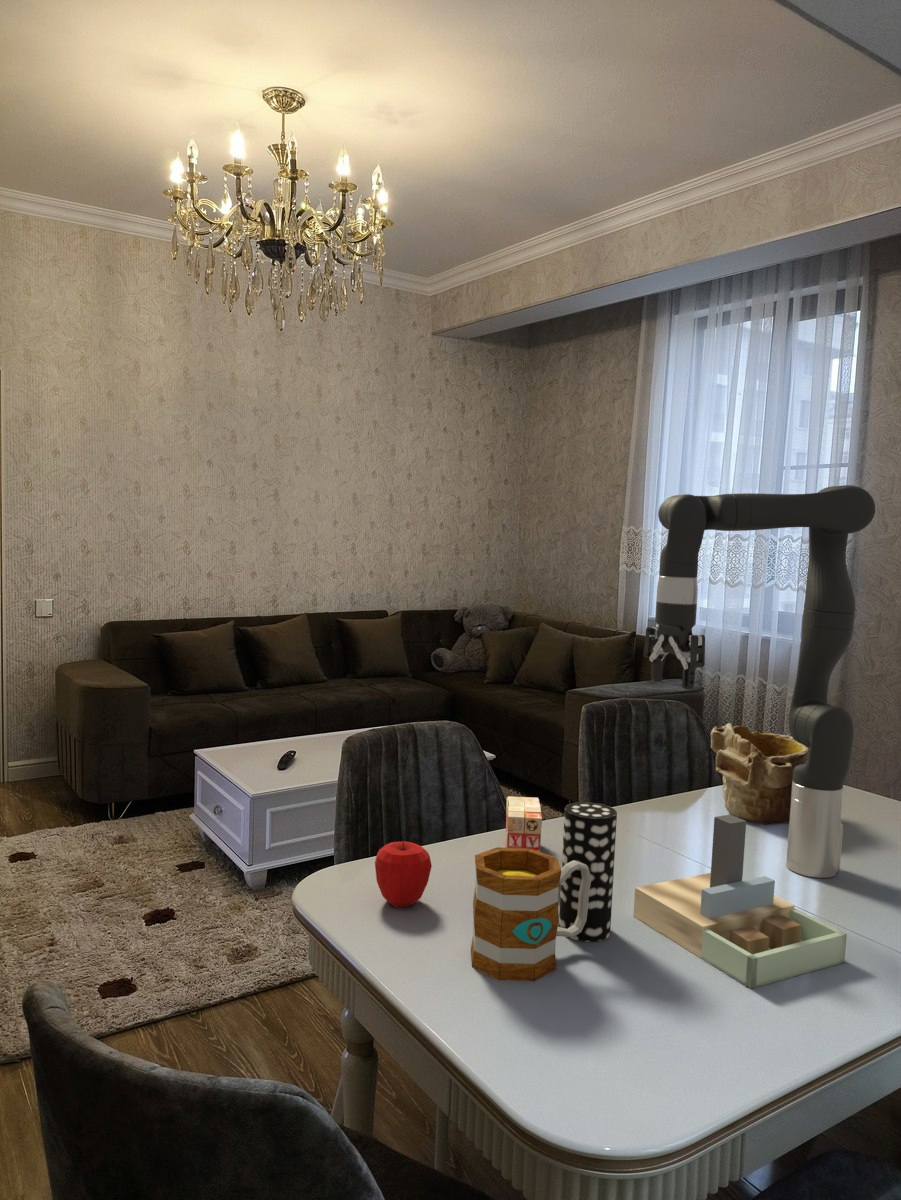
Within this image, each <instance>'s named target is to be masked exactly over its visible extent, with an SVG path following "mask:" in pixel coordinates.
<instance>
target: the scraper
mask: <svg viewBox="0 0 901 1200" xmlns="http://www.w3.org/2000/svg"><path fill="white" fill-rule="evenodd" d="M746 831H747V820H746V819H743V818H740V817H736V816H733V815H731V814H726V815H719V816H714V819H713V834H712V835H713V836H712V851H711V862H710V863H711V864H710V865H711V866H710V873H711V877H710V888H706V889H702V894H701V910H700V914H701V915H703V916H705V917H707V918H709V919H711V918H716V917H720V916H724V915H729V914H733V913H737V912H742V911H746V910H751V909H755V908H759V907H764V906H768V905H772V904H773V900H774V896H775V884H776V881H775V879H772V878H770V877H768V876H760V877H754V878H750V879H746V880H744V881H742V880H743V876H744V875H743V874H744V862H745V861H744V860H745V848H746V847H745V844H746V834H747V833H746Z"/></svg>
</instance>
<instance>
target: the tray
mask: <svg viewBox="0 0 901 1200" xmlns="http://www.w3.org/2000/svg"><path fill="white" fill-rule="evenodd" d="M789 919H790V920H792V921H794V922H796V923H798V924H800V925H801V934H800V942H798V943H795V944H791V945H787V946H783V947H779V948H776V949H771V948H769V947H768V951H764V952H760V953H756V954H753V955H752V954H751V953H749V952H747V951H745V950H744V949H742V948H740V947H739V946H737V945H735V944H733V943H732V942H730V941H728V940H726V939H725V938H723V937H721V936H719V935H718V934H716V933H714V932H712V931H711V930H709V929H704V930H703V934H702V950H701V958H700V959H702V960H703V961H704V962H706V963H708V964H710V965H712V966H713V967H714V968H716V969H718V970H720V971H721V972H722V973H723V974H726V975H727V976H729V977H731V978H732V979H734V980H735V981H737V982H739V983H740V984H742V985H743V986H744V987H747V988H748V989H750V990H752V989H756V988H759V987H762V986H766V985H770V984H772V983H776V982H781V981H784V980H788V979H790V978H794V977H797V976H801V975H804V974H807V973H811V972H814V971H819V970H823V969H826V968H829V967H833V966H835V965H839V964H843V963H845V961H846V949H847V937H848V936H847V933H845V932H844V931H841V930H839V929H837V928H835V927H833V926H831V925H829V924H827V923H825V922H823V921H822V920H820V919H817V918H815V917H813V916H811V915H809V914H807V913H806V912H802V911H801V910H799V909H798V908H797V909H796V908H795V907H794V908H793V909H790V917H789Z"/></svg>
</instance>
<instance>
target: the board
mask: <svg viewBox="0 0 901 1200" xmlns="http://www.w3.org/2000/svg"><path fill="white" fill-rule="evenodd" d="M710 877H711V872H707V873H703V874H702V873H701V874H697V875H692V876H688V877H682V878H677V879H671V880H667V881H662V882H657V883H652V884H647V885H642V886H636V887H635V888H634V900H633V901H634V903H633V904H634V905H633V917H635V918H636V919H637V920H639V921H640V922H642V923H644V924H645V925H647V926H648V927H650V928H652V929H654V930H655V931H657V932H658V933H660V934H661V935H663V936H664V937H666V938H668V939H670V940H671V941H673V942H674V943H676V944H677V945H679V946H680V947H682V948H684V949H685V950H687V951H688V952H689V953H690V952H691V953H692V954H694V955H695V956H697V957H698V958H700V959H702V958H701V950H702V934H703V930H704V929H709V930H711V931H712V932H714V933H716V934H718V935H719V936H721V937H723V938H725V939H726V940H728V941H729V938H730V930H732V929H738V928H743V927H749V926H751V927H753V928H754V929H756V930H758V931H759V932H761V933H762V928H763V919H765V918H770V917H774V916H778V915H782V916H784V917H786V918H788V919H789V917H790V909H793V908H795V904H793V903H790V902H788V901H787V900H785V899H782V898H780V897H779V896H776V895H774V900H773V904H772V905H768V906H764V907H759V908H755V909H751V910H746V911H742V912H737V913H733V914H729V915H724V916H720V917H716V918H711V919H709V918H707V917H705V916H703V915H701V914H700V910H701V894H702V889H706V888H710ZM742 881H745V880H744V879H742Z"/></svg>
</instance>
